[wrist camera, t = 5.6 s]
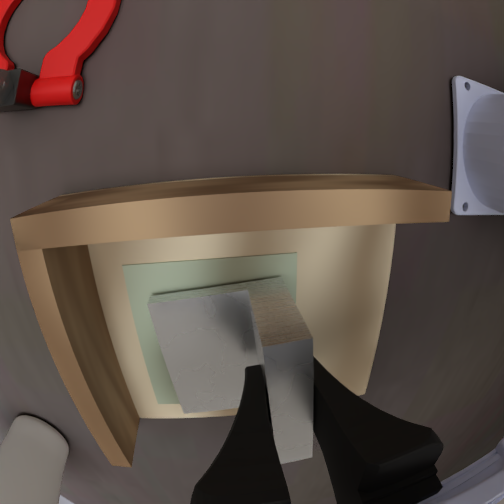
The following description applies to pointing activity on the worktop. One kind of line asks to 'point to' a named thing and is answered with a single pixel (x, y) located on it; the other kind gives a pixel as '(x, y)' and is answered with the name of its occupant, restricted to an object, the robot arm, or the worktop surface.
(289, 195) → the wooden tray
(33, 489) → the drinking glass
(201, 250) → the board
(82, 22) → the tow hook
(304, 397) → the bracket
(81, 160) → the worktop surface
